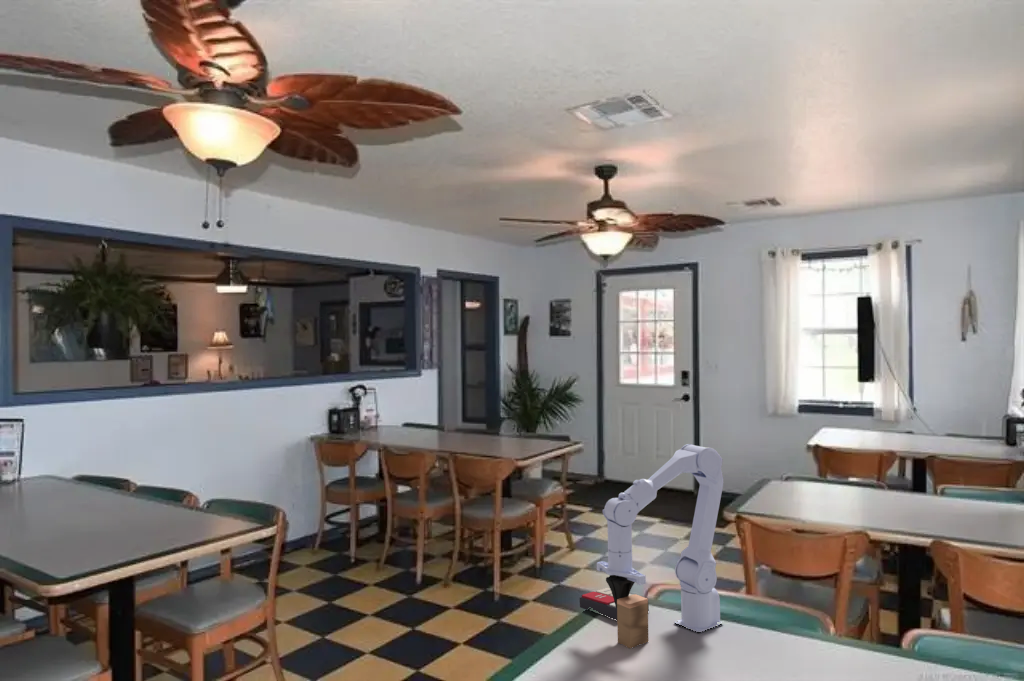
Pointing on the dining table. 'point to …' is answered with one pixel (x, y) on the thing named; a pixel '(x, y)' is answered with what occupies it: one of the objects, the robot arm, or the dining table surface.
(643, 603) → the walnut block
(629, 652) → the dining table surface
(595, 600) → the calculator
